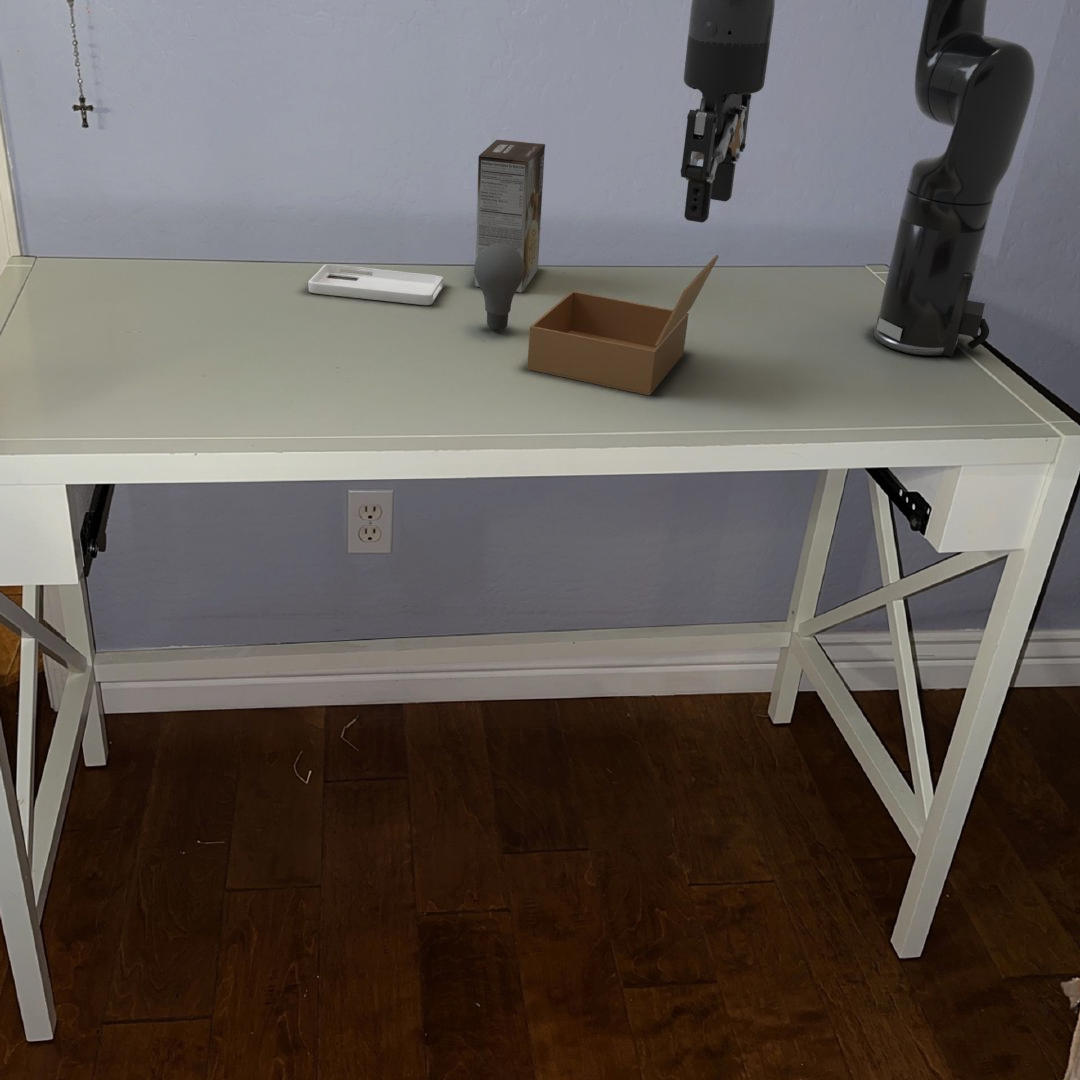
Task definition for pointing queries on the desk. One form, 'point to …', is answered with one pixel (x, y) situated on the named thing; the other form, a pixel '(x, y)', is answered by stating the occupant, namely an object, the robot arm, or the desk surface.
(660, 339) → the flap
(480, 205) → the coffee box
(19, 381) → the desk surface
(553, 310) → the carton
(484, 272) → the light bulb
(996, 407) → the desk surface
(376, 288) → the phone case
